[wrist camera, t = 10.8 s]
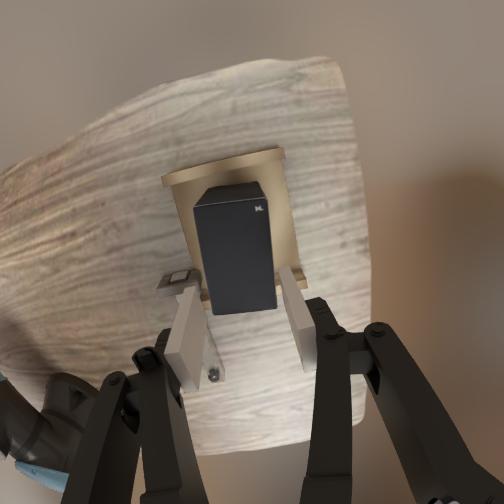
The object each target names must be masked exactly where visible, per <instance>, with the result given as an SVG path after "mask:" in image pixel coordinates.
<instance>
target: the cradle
mask: <svg viewBox="0 0 504 504" xmlns="http://www.w3.org/2000/svg"><path fill="white" fill-rule="evenodd" d="M281 159H285V154H284V149H283V148H275V149H270V150H264V151H259V152H255V153H250V154H245V155H241V156H236V157H232V158H227V159H223V160H219V161H215V162H211V163H207V164H203V165H199V166H195V167H191V168H188V169H184V170H180V171H177V172H173V173H170V174H167V175H164V176H161V179H162V182H163V186H164V187H167V186H171V188H172V192H173V196H174V199H175V203H176V207H177V210H178V214H179V217H180V221H181V224H182V228H183V231H184V235H185V238H186V242H187V245H188V248H189V251H190V255H191V258H192V261H193V264H194V268H195V270H192V271H191V274H190V277H189V280H188V281H186V282H181V283H176V284H171V283H170V280H171V278H172V276H171V275H169V276H165V277H163V278H162V280H161V282H160V283H159V285H158V287H157V289H156V290H157V293H158V295H159V298H164V297H169V296H174V295H179V294H183V292H184V289H185V288H187V287H192V286H196V288H197V291H199V290H200V288H201V289H202V292H201V296H200V300H201V302H202V305H203V308H204V310H208V309H212V308H211V303H210V298H209V293H208V288H207V283H206V278H205V273H204V268H203V263H202V258H201V253H200V247H199V242H198V237H197V231H196V225H195V220H194V214H193V206H194V205H195V204H196V203H197V202H198V200H199V199H200V198H201V197H202V195H203V194H204V193H205V191H206V190H207V189H208V188H212V187H216V186H221V185H223V186H225V185H234V184H241V183H250V182H253V181H257V182H259V183H260V186H261V188H262V190H263V192H264V193H265V196H266V197H267V199H268V207H269V218H270V227H271V239H272V249H273V260H274V271H275V284H276V295H280V294H282V290H281V285H280V279H279V274H278V269H277V268H280V267H285V266H289V267H290V269H291V271H292V273H293V276H294V278H295V280H296V282H297V285H298V287H299V289H300V290H301V289H305V288H308V286H307V279H306V277H305V275H304V274H303V272H302V270H301V266H300V260H299V253H298V247H297V241H296V236H295V230H294V224H293V218H292V213H291V207H290V202H289V197H288V191H287V186H286V181H285V176H284V171H283V166H282V161H281Z"/></svg>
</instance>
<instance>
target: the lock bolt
mask: <svg viewBox="0 0 504 504" xmlns="http://www.w3.org/2000/svg"><path fill="white" fill-rule="evenodd" d="M189 277H190V274H189V271H188V270H185V271H181V272H176V273H173V276H172V278H171V280H170V283H171V284H176V283H181V282H186V281H188V280H189ZM182 295H183V294H179V295H175V297H176V299H177V302H178V305H179V304H180V301H181V298H182ZM202 363H203V365H204V367H205V369H206V372H207V374H208V379H209V380H210V381H211V383H216V382H223V381H224V375H225V370H224V368H223V365H222V363H221V360H220V358H219V355H218V353H217V350H216V347H215V345H214V342H213V340H212V337H211V334H210V331H209V329H208V326H207V329H206V336H205V344H204V351H203V359H202Z"/></svg>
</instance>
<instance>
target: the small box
mask: <svg viewBox="0 0 504 504" xmlns="http://www.w3.org/2000/svg"><path fill="white" fill-rule="evenodd" d="M193 214H194V220H195V225H196V231H197V237H198V242H199V247H200V253H201V258H202V263H203V268H204V273H205V278H206V283H207V288H208V293H209V298H210V303H211V308H212V313H213V315H227V314H237V313H246V312H255V311H263V310H271V309H277V296H276V284H275V271H274V260H273V249H272V239H271V227H270V218H269V207H268V199H267V197H266V196H265V193H264V192H263V190H262V188H261V186H260V183H259V182H257V181H253V182H250V183H241V184H234V185H225V186H223V185H221V186H216V187H212V188H208V189H207V190H206V191H205V193H204V194H203V195H202V197H201V198H200V199H199V200H198V202H197V203H196V204H195V205H194V206H193Z"/></svg>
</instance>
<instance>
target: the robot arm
mask: <svg viewBox="0 0 504 504" xmlns="http://www.w3.org/2000/svg"><path fill="white" fill-rule="evenodd" d="M277 269H278V274H279V279H280V285H281V290H282V295H283V300H284V305H285V308H286V312H287V315H288V318H289V322H290V325H291V328H292V332H293V335H294V339H295V342H296V345H297V349H298V352H299V355H300V359H301V362H302V366H303V369H304V373H305V372H309V371H313V370H316V383H315V397H314V410H313V421H312V431H311V440H310V450H309V458H308V466H307V472H306V476H305V477H304V481H303V486H302V492H301V498H300V504H351V497H352V402H351V381H350V375H351V374H363V376H364V378H365V380H366V382H367V384H368V387H369V389H370V391H371V393H372V396H373V398H374V400H375V402H376V404H377V407H378V409H379V411H380V414H381V416H382V418H383V421H384V423H385V426H386V428H387V430H388V432H389V435H390V438H391V440H392V442H393V445H394V447H395V450H396V452H397V455H398V457H399V460H400V462H401V465H402V468H403V470H404V472H405V475H406V478H407V480H408V483H409V486H410V489H411V491H412V494H413V496H414V498H415V501H416V503H417V504H504V484H503V483H501V482H500V481H499V480H497V479H496V478H495V477H494V476H492V475H491V474H490V473H489V472H487V471H486V470H485V469H484V468H482V467H481V466H480V465H479V464H477V463H476V462H475V461H474V459H473V457H472V456H471V454H470V452H469V450H468V448H467V446H466V444H465V443H464V441H463V439H462V437H461V435H460V434H459V432H458V430H457V428H456V427H455V425H454V423H453V421H452V420H451V418H450V417H449V415H448V413H447V411H446V410H445V408H444V406H443V405H442V403H441V401H440V400H439V398H438V397H437V395H436V393H435V392H434V390H433V389H432V387H431V385H430V384H429V382H428V381H427V379H426V378H425V376H424V375H423V373H422V372H421V370H420V368H419V367H418V365H417V364H416V363H415V361H414V359H413V358H412V357H411V355H410V354H409V352H408V351H407V349H406V348H405V346H404V345H403V343H402V342H401V341H400V339H399V338H398V337H397V335H396V334H395V332H394V331H393V329H392V328H391V327H390V326H389V325H388V324H386V323H383V322H375V323H371V324H369V325H368V326H367V327H365V329H364V332H358V333H351V332H347V331H346V330H345V329H344V328H343V327H341V326H339V325H338V323H337V321H336V319H335V317H334V315H333V314H332V312H331V310H330V308H329V307H328V305H327V303H326V301H325V300H323V299H322V298H320V297H317V298H313V299H309V300H305V301H304V298H303V296H302V294H301V292H300V289H299V287H298V285H297V282H296V280H295V278H294V276H293V273H292V271H291V269H290V267H289V266H285V267H280V268H277ZM207 322H208V320H207V317H206V314H205V311H204V308H203V305H202V302H201V300H200V297H199V294H198V291H197V288H196V286H192V287H187V288H185V289H184V292H183V295H182V298H181V301H180V304H179V307H178V310H177V313H176V316H175V319H174V323H173V326H172V328H168V329H164V330H163V331H162V332H161V333H160V334H159V336H158V338H157V342H156V344H155V347H149V346H148V347H143V348H141V349H139V350H138V351H136V352H135V353H134V355H133V357H132V360H133V362H134V363H135V365H136V367H137V368H138V370H139V373H137V374H134V375H131V376H128V377H126V375H125V374H124V373H123V372H121V371H116V372H113V373H111V374H109V375H108V376H107V377H106V378H105V380H104V381H103V384H102V386H101V388H100V391H99V392H98V391H97V390H96V389H94V388H93V387H92V386H90V385H89V384H87V383H86V382H84V381H83V380H81V379H79V378H77V377H74V376H72V375H69V374H64V373H56V374H54V375H52V376H51V378H50V379H49V381H48V382H47V385H46V392H45V397H44V403H43V408H42V410H41V412H38V411H37V410H36V409H35V408H34V407H33V406H32V405H31V404H30V403H29V402H28V401H27V400H26V399H25V398H24V397H23V396H22V395H21V394H20V393H19V392H18V391H17V390H16V389H15V387H14V386H13V385H12V384H11V383H10V382H9V381H8V379H7V377H4V376H3V375H2V373H1V372H0V460H5V459H6V457H7V455H8V454H10V455H11V456H12V457H13V458H15V459H16V461H15V467H16V469H17V470H19V471H20V472H21V473H22V474H24V475H25V476H27V477H29V478H30V479H32V480H34V481H36V482H38V483H40V484H42V485H44V486H46V487H49V488H51V489H53V490H56V491H59V492H63V497H62V500H61V504H131V498H132V491H133V484H134V479H135V473H136V468H137V462H138V457H139V452H140V447H141V448H142V460H143V470H144V479H145V487H146V492H145V493H144V494H142V495H141V496H140V504H209V502H208V499H207V495H206V492H205V489H204V485H203V482H202V479H201V475H200V471H199V467H198V464H197V460H196V456H195V452H194V448H193V444H192V440H191V435H190V431H189V427H188V422H187V417H186V413H185V408H184V403H183V398H182V396H181V394H180V393H179V391H180V386H181V387H182V389H183V391H184V393H187V392H196V391H199V383H200V375H201V367H202V359H203V351H204V344H205V336H206V329H207ZM121 411H122V413H121Z"/></svg>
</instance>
